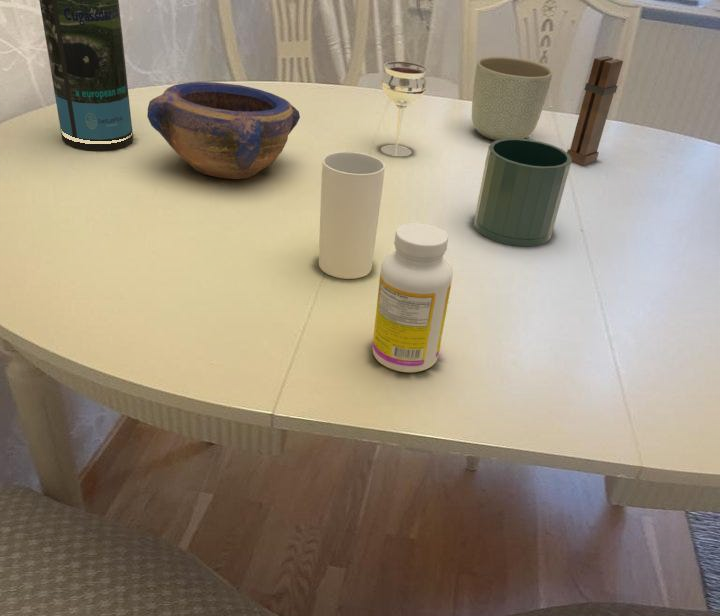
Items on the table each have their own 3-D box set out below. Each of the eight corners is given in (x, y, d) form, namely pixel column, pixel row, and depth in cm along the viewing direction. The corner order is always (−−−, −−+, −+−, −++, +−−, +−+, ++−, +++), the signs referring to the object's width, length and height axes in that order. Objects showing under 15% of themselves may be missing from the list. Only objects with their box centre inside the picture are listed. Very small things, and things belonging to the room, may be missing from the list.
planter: (520, 154, 124) (536, 82, 117) (453, 135, 128) (464, 64, 121) (546, 136, 132) (563, 68, 125) (483, 119, 137) (495, 52, 129)
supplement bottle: (406, 332, 79) (424, 212, 70) (450, 362, 75) (475, 239, 67) (357, 350, 75) (370, 226, 67) (401, 383, 72) (420, 256, 63)
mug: (360, 286, 85) (370, 179, 77) (306, 271, 87) (311, 164, 79) (392, 252, 92) (404, 152, 84) (342, 239, 94) (349, 139, 86)
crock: (542, 216, 105) (561, 142, 99) (558, 249, 98) (580, 171, 91) (468, 210, 105) (483, 135, 98) (479, 243, 97) (496, 164, 90)
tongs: (578, 154, 127) (605, 55, 117) (596, 161, 125) (625, 61, 115) (565, 159, 124) (591, 57, 114) (583, 165, 123) (612, 63, 113)
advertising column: (93, 121, 117) (60, -124, 97) (153, 138, 114) (131, -112, 94) (41, 140, 110) (-8, -123, 90) (103, 158, 106) (67, -109, 86)
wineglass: (366, 147, 120) (373, 63, 112) (396, 140, 124) (406, 59, 116) (395, 161, 116) (405, 76, 108) (426, 154, 120) (438, 71, 112)
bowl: (313, 164, 112) (317, 91, 106) (251, 203, 100) (250, 123, 93) (210, 137, 117) (208, 66, 110) (138, 171, 104) (130, 93, 98)
